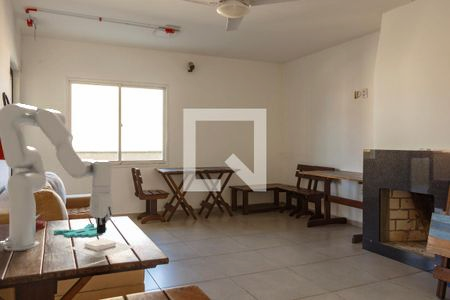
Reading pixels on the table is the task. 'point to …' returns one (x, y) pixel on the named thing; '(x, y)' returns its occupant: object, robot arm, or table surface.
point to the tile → (100, 244)
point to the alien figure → (80, 232)
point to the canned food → (40, 223)
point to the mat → (103, 252)
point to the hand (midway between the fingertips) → (101, 233)
